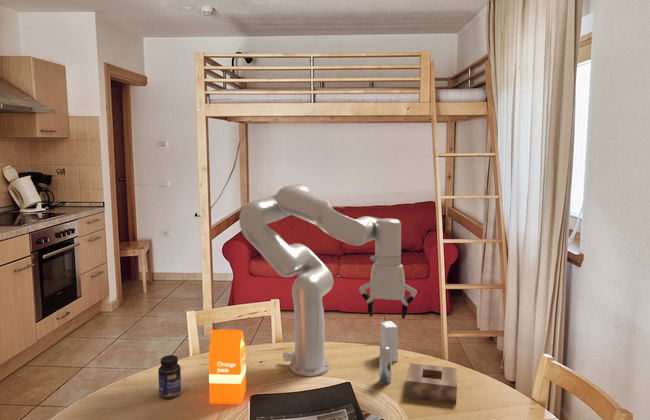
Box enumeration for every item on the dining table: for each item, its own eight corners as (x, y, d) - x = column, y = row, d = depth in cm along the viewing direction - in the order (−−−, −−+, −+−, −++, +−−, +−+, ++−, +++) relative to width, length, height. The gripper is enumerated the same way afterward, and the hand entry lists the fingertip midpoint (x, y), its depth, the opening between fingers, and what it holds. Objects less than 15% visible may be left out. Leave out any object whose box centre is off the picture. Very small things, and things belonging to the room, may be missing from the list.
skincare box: (398, 361, 164) (399, 326, 163) (385, 362, 163) (386, 327, 162) (391, 354, 170) (392, 320, 169) (379, 355, 169) (380, 321, 168)
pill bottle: (169, 402, 138) (167, 364, 136) (154, 396, 141) (153, 359, 139) (185, 393, 143) (184, 356, 141) (171, 387, 146) (170, 352, 145)
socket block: (405, 397, 141) (406, 380, 140) (409, 378, 152) (409, 363, 152) (456, 403, 137) (456, 386, 137) (455, 383, 149) (456, 368, 148)
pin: (378, 383, 149) (379, 348, 148) (380, 378, 153) (380, 344, 151) (390, 384, 148) (391, 350, 147) (391, 379, 152) (392, 345, 150)
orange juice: (216, 390, 145) (214, 324, 142) (246, 390, 144) (245, 325, 142) (209, 403, 137) (207, 334, 134) (241, 404, 137) (239, 335, 134)
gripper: (356, 261, 144) (356, 318, 146) (416, 264, 140) (415, 322, 142) (361, 256, 151) (361, 310, 153) (418, 259, 147) (417, 314, 149)
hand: (387, 316), depth 148 cm, fingers open, 9 cm apart
